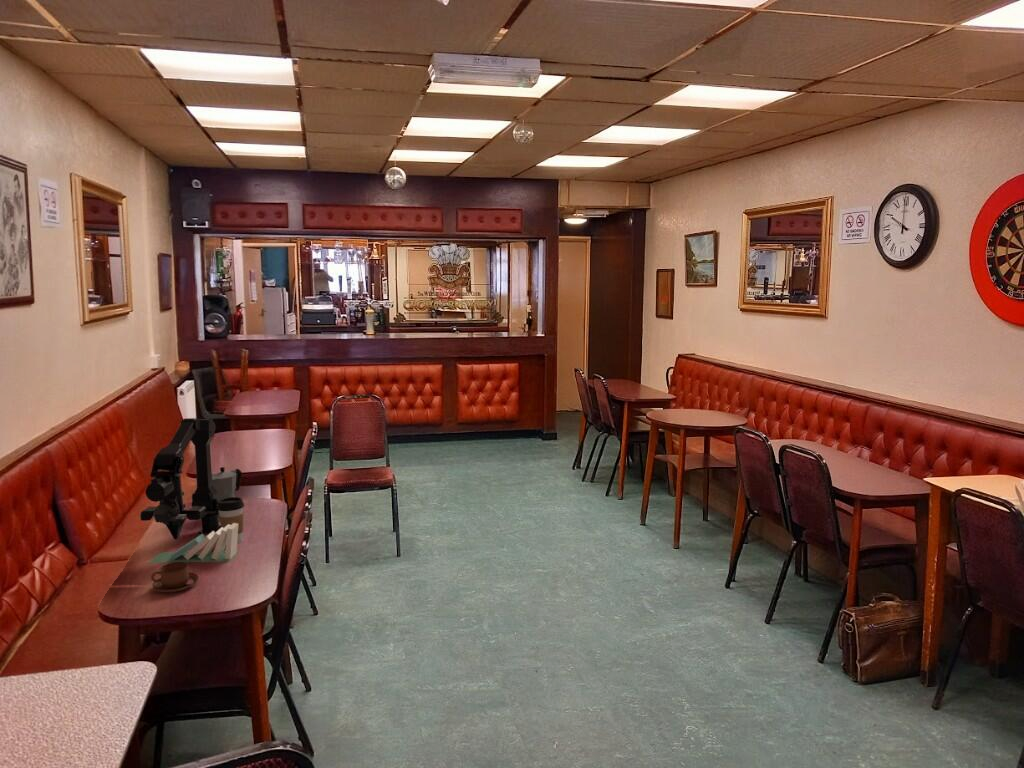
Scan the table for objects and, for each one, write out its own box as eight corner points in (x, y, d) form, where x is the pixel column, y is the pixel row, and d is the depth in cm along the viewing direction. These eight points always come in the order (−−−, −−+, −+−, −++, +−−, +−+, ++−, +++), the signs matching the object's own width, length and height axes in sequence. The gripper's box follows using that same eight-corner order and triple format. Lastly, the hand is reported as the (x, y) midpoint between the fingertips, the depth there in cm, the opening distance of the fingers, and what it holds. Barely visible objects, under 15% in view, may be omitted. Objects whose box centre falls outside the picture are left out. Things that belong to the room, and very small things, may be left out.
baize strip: (160, 554, 235) (160, 552, 235) (239, 553, 234) (239, 551, 234) (148, 564, 227) (148, 562, 227) (229, 563, 226) (229, 561, 226)
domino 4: (217, 551, 233) (228, 524, 231) (222, 553, 233) (233, 526, 231) (211, 557, 228) (221, 529, 226) (216, 559, 228) (226, 531, 226)
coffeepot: (221, 521, 264) (217, 473, 261) (202, 518, 268) (198, 470, 266) (253, 508, 278) (249, 462, 275) (235, 505, 282) (231, 460, 279)
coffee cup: (216, 547, 239) (212, 503, 237) (225, 538, 248) (221, 495, 245) (242, 547, 240) (238, 503, 237) (250, 537, 248) (247, 495, 246)
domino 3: (204, 550, 233) (222, 526, 231) (208, 553, 233) (226, 529, 232) (197, 556, 228) (215, 532, 226) (202, 559, 228) (219, 535, 227)
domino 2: (191, 550, 233) (213, 530, 232) (194, 553, 233) (216, 534, 232) (184, 556, 228) (206, 536, 227) (187, 560, 228) (210, 540, 227)
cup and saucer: (157, 600, 202) (155, 579, 201) (149, 585, 212) (147, 565, 211) (203, 588, 209) (201, 568, 208) (193, 574, 219) (191, 555, 218)
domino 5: (231, 552, 233) (233, 522, 231) (236, 553, 233) (238, 523, 231) (225, 559, 228) (227, 528, 226) (230, 559, 228) (232, 529, 226)
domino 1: (177, 550, 233) (202, 533, 232) (180, 554, 233) (205, 537, 232) (170, 556, 228) (195, 539, 227) (173, 560, 228) (198, 543, 227)
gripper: (128, 500, 219) (133, 549, 222) (189, 499, 219) (194, 548, 222) (147, 488, 230) (151, 536, 233) (205, 488, 230) (209, 535, 233)
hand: (176, 539), depth 230 cm, fingers closed
